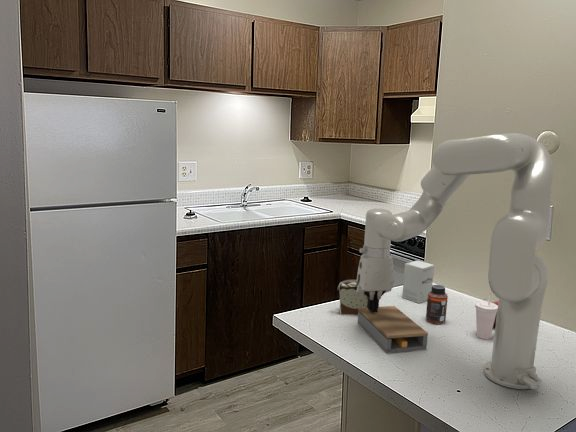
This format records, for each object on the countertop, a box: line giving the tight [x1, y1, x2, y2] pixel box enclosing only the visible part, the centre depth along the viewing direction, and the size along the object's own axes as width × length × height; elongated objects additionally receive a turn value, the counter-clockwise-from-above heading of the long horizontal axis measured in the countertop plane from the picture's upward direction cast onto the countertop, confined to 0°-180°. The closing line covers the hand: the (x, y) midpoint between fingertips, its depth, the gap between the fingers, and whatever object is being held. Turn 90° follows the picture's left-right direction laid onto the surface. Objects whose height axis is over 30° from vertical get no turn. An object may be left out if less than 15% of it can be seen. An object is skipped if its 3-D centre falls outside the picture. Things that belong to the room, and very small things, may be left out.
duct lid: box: [358, 305, 429, 338], centre depth 148 cm, size 20×12×1 cm, turn 15°
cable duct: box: [357, 311, 428, 354], centre depth 149 cm, size 20×12×4 cm, turn 15°
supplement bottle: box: [425, 284, 449, 325], centre depth 160 cm, size 6×6×11 cm
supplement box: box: [401, 259, 435, 304], centre depth 178 cm, size 7×7×13 cm
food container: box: [337, 279, 374, 317], centre depth 165 cm, size 12×6×10 cm, turn 84°
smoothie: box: [474, 290, 498, 340], centre depth 149 cm, size 6×6×14 cm
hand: (372, 310), depth 153 cm, fingers closed
